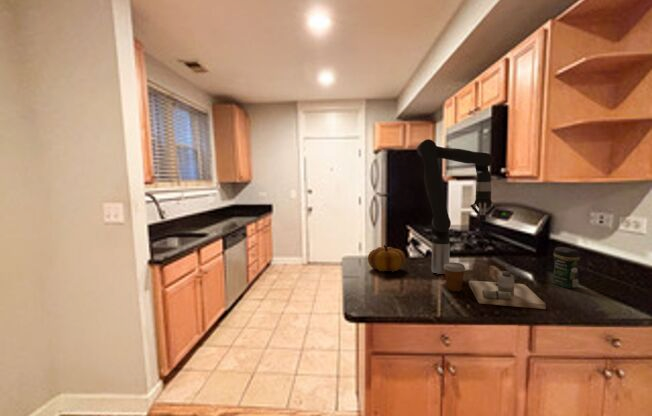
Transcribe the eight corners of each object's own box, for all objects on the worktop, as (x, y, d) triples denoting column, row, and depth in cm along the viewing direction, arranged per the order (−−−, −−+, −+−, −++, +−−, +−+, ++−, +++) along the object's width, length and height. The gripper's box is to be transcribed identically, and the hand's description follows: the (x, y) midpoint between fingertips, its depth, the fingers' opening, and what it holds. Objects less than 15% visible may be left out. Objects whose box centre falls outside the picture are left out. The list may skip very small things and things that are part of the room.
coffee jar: (548, 282, 147) (550, 246, 145) (562, 281, 148) (564, 245, 146) (567, 289, 137) (569, 250, 136) (581, 288, 138) (583, 249, 137)
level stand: (478, 303, 124) (479, 291, 123) (468, 284, 147) (469, 274, 146) (545, 309, 117) (546, 296, 116) (524, 288, 140) (524, 277, 139)
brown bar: (516, 296, 124) (517, 274, 124) (501, 295, 125) (501, 273, 125) (498, 281, 143) (499, 262, 142) (485, 281, 144) (485, 262, 143)
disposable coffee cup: (463, 286, 143) (464, 262, 142) (466, 293, 134) (466, 268, 133) (442, 285, 146) (443, 261, 145) (443, 291, 137) (444, 266, 137)
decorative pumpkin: (384, 277, 160) (384, 250, 159) (361, 267, 179) (361, 243, 178) (412, 271, 169) (412, 246, 168) (387, 263, 189) (387, 240, 188)
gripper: (468, 190, 162) (468, 221, 163) (496, 190, 154) (495, 223, 155) (471, 190, 168) (471, 220, 169) (498, 190, 160) (497, 221, 161)
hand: (482, 221), depth 162 cm, fingers closed
